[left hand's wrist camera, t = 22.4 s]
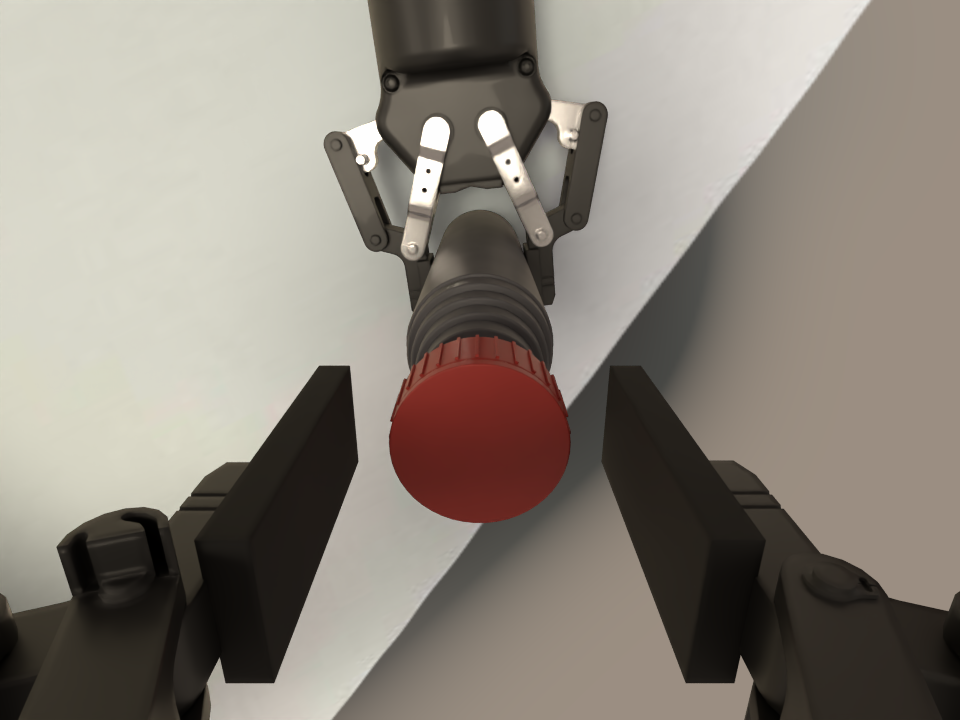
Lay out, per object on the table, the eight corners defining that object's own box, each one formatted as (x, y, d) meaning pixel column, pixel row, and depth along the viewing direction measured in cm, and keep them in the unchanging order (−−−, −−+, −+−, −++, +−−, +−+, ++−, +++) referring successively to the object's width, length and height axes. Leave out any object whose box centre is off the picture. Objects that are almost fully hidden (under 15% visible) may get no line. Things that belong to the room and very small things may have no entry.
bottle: (506, 296, 37) (549, 540, 14) (433, 277, 37) (356, 498, 14) (528, 221, 36) (614, 364, 13) (451, 200, 35) (397, 311, 12)
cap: (372, 443, 15) (357, 484, 13) (439, 304, 14) (433, 329, 12) (514, 503, 16) (519, 550, 14) (592, 376, 14) (608, 410, 12)
